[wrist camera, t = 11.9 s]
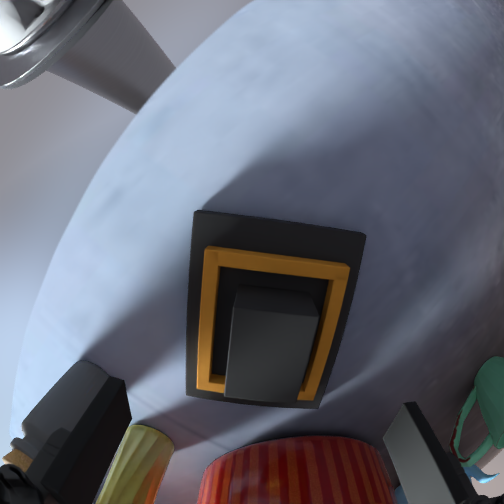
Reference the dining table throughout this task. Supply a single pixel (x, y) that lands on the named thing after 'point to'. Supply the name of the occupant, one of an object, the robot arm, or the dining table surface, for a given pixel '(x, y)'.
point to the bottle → (57, 411)
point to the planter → (299, 473)
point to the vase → (137, 467)
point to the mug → (484, 410)
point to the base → (265, 275)
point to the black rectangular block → (269, 343)
